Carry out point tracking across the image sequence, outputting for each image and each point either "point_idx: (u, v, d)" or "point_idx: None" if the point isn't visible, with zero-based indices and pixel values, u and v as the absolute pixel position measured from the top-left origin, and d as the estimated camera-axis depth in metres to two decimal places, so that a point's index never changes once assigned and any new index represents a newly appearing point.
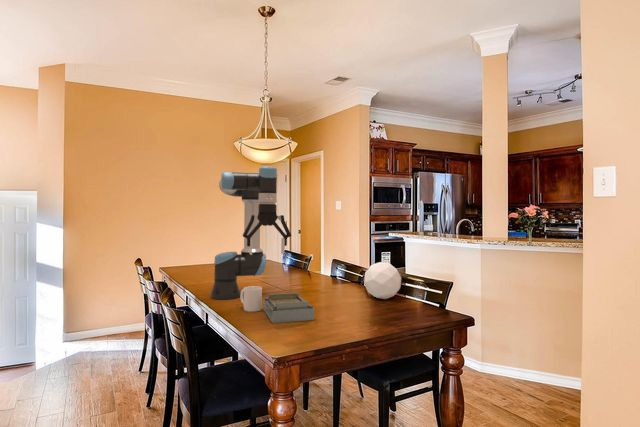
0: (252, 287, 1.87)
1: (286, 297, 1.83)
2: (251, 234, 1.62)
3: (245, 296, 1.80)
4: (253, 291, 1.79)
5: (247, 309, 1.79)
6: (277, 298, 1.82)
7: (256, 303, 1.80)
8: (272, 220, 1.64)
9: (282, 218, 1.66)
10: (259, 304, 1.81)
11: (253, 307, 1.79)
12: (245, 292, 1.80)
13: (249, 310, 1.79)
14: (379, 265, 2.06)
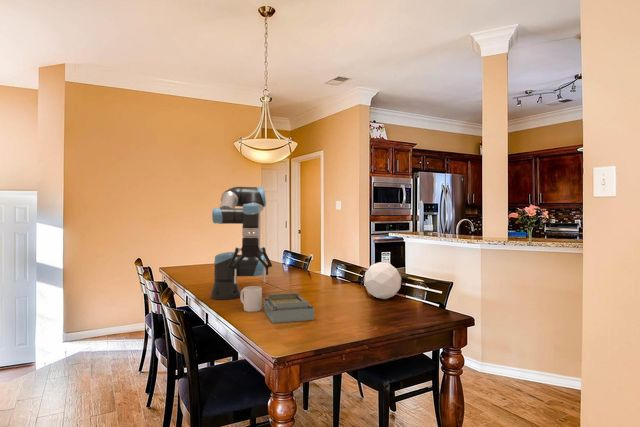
0: (252, 287, 1.87)
1: (286, 297, 1.83)
2: (235, 265, 1.80)
3: (245, 296, 1.80)
4: (253, 291, 1.79)
5: (247, 309, 1.79)
6: (277, 298, 1.82)
7: (256, 303, 1.80)
8: (254, 252, 1.82)
9: (263, 250, 1.84)
10: (259, 304, 1.81)
11: (253, 307, 1.79)
12: (245, 292, 1.80)
13: (249, 310, 1.79)
14: (379, 265, 2.06)
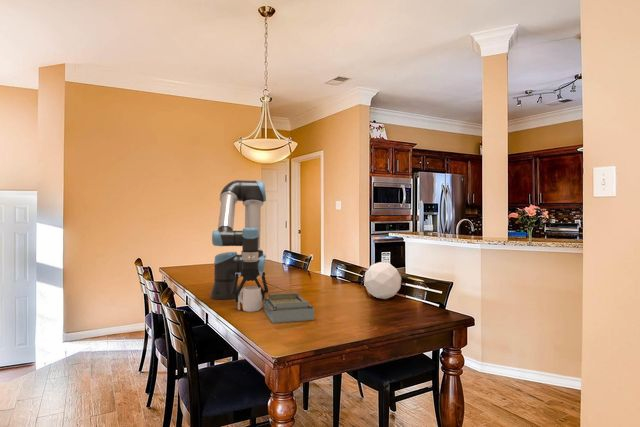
0: (251, 287, 1.86)
1: (286, 297, 1.83)
2: (238, 291, 1.81)
3: (244, 296, 1.80)
4: (252, 291, 1.79)
5: (246, 309, 1.79)
6: (277, 298, 1.82)
7: (255, 303, 1.79)
8: (254, 276, 1.82)
9: (263, 275, 1.84)
10: (258, 304, 1.81)
11: (251, 306, 1.79)
12: (244, 292, 1.80)
13: (248, 310, 1.79)
14: (379, 265, 2.06)
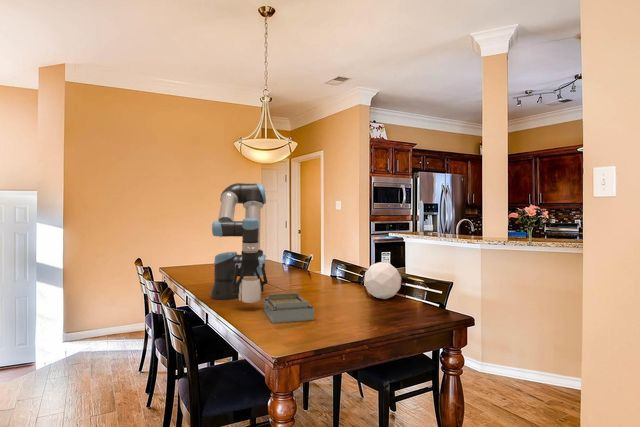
0: (250, 278, 1.87)
1: (286, 297, 1.83)
2: (239, 282, 1.82)
3: (243, 287, 1.80)
4: (251, 282, 1.79)
5: (245, 300, 1.80)
6: (277, 298, 1.82)
7: (254, 294, 1.80)
8: (254, 267, 1.83)
9: (263, 266, 1.85)
10: (257, 295, 1.81)
11: (250, 298, 1.79)
12: (243, 283, 1.80)
13: (247, 301, 1.80)
14: (379, 265, 2.06)
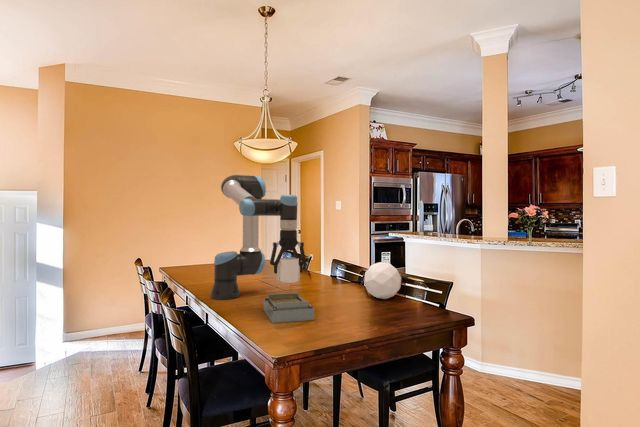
0: (288, 258, 1.77)
1: (286, 297, 1.83)
2: (277, 261, 1.72)
3: (281, 266, 1.71)
4: (290, 261, 1.70)
5: (284, 280, 1.70)
6: (277, 298, 1.82)
7: (293, 274, 1.70)
8: (292, 245, 1.73)
9: (302, 245, 1.75)
10: (296, 275, 1.71)
11: (290, 277, 1.70)
12: (281, 262, 1.71)
13: (286, 281, 1.70)
14: (379, 265, 2.06)
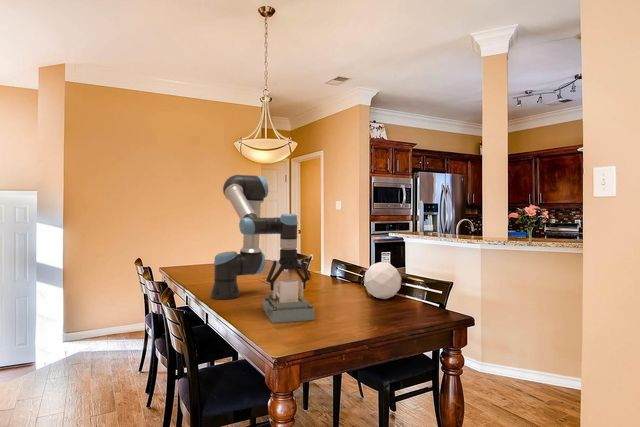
0: (288, 280, 1.78)
1: None
2: (274, 279, 1.72)
3: (281, 289, 1.71)
4: (290, 284, 1.70)
5: None
6: (277, 298, 1.82)
7: (293, 296, 1.70)
8: (293, 264, 1.74)
9: (302, 262, 1.76)
10: (296, 298, 1.72)
11: (289, 300, 1.70)
12: (281, 285, 1.71)
13: None
14: (379, 265, 2.06)
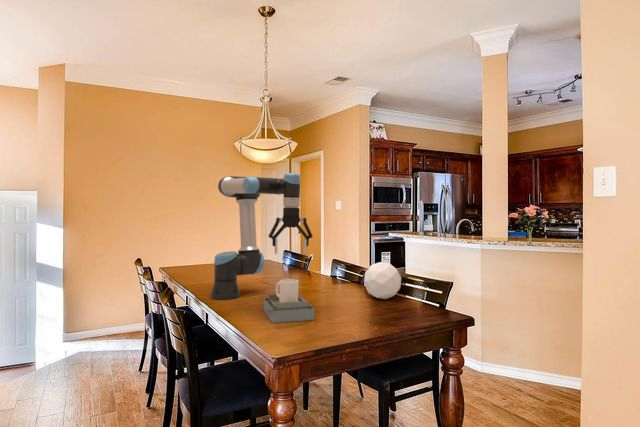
0: (288, 280, 1.78)
1: None
2: (276, 235, 1.78)
3: (281, 289, 1.71)
4: (290, 284, 1.70)
5: None
6: (277, 298, 1.82)
7: (293, 297, 1.70)
8: (295, 222, 1.80)
9: (304, 220, 1.81)
10: (296, 298, 1.72)
11: (289, 300, 1.70)
12: (281, 285, 1.71)
13: None
14: (379, 265, 2.06)
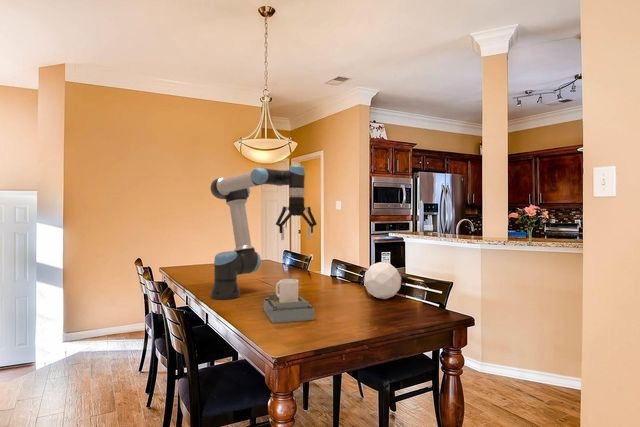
0: (288, 280, 1.78)
1: None
2: (283, 223, 1.91)
3: (281, 289, 1.71)
4: (290, 284, 1.70)
5: None
6: (277, 298, 1.82)
7: (293, 297, 1.70)
8: (301, 211, 1.93)
9: (309, 209, 1.95)
10: (296, 298, 1.72)
11: (289, 300, 1.70)
12: (281, 285, 1.71)
13: None
14: (379, 265, 2.06)
